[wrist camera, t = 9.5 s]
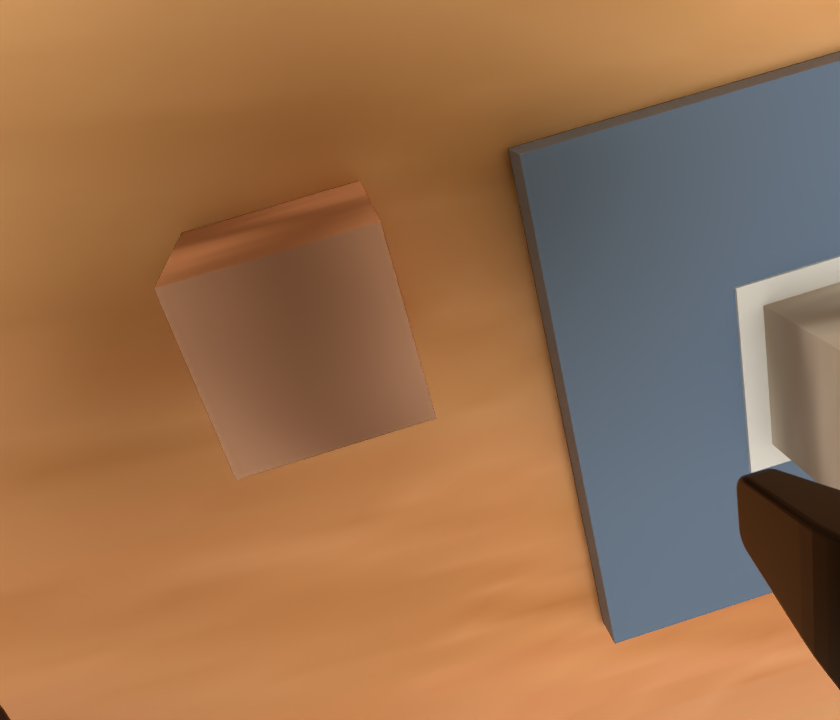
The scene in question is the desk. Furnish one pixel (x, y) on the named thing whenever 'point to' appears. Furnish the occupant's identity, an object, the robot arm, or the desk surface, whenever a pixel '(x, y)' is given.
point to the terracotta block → (295, 329)
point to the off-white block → (806, 380)
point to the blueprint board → (678, 319)
